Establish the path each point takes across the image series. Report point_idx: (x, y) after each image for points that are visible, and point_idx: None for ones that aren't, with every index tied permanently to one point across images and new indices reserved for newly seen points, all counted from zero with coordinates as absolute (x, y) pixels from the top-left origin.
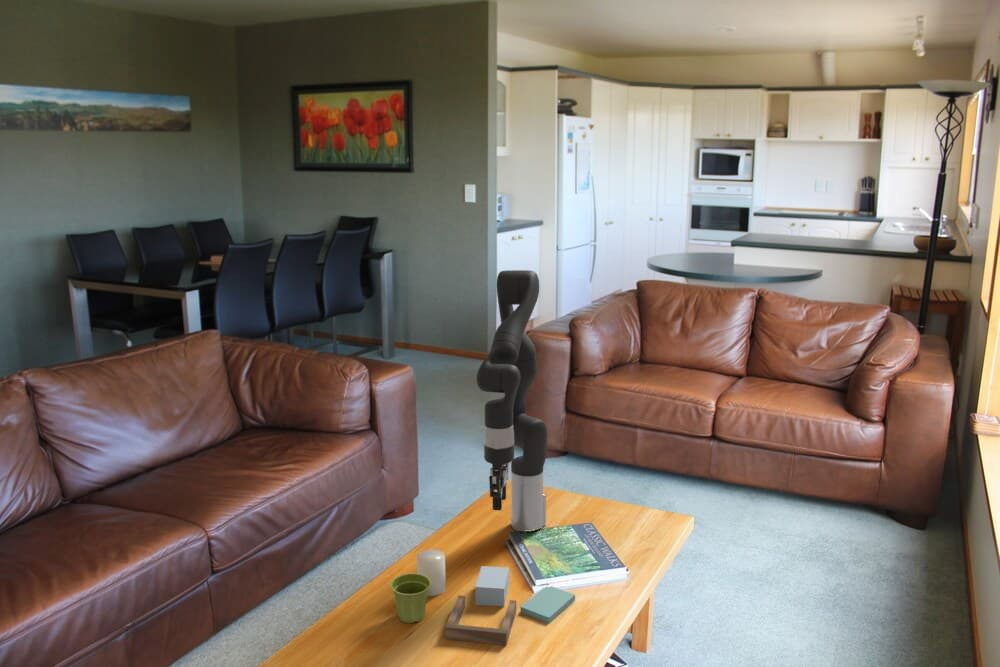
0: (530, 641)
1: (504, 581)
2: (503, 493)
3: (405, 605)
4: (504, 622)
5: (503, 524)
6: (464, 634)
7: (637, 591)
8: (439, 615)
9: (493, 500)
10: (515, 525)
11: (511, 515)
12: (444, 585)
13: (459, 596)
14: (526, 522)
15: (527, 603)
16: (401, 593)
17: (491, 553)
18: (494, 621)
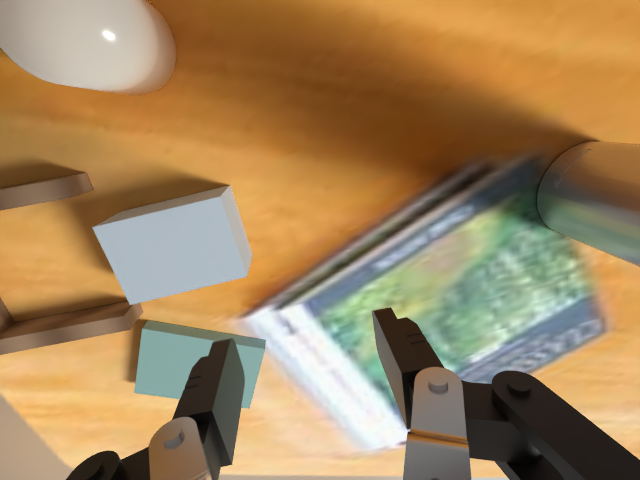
0: (54, 373)
1: (167, 292)
2: (389, 371)
3: None
4: (20, 339)
5: (584, 116)
6: None
7: (328, 475)
8: (13, 137)
9: (201, 390)
10: (559, 169)
11: (603, 151)
12: (129, 94)
13: (59, 183)
14: (560, 211)
15: (164, 337)
16: None
17: (398, 148)
18: (78, 282)
